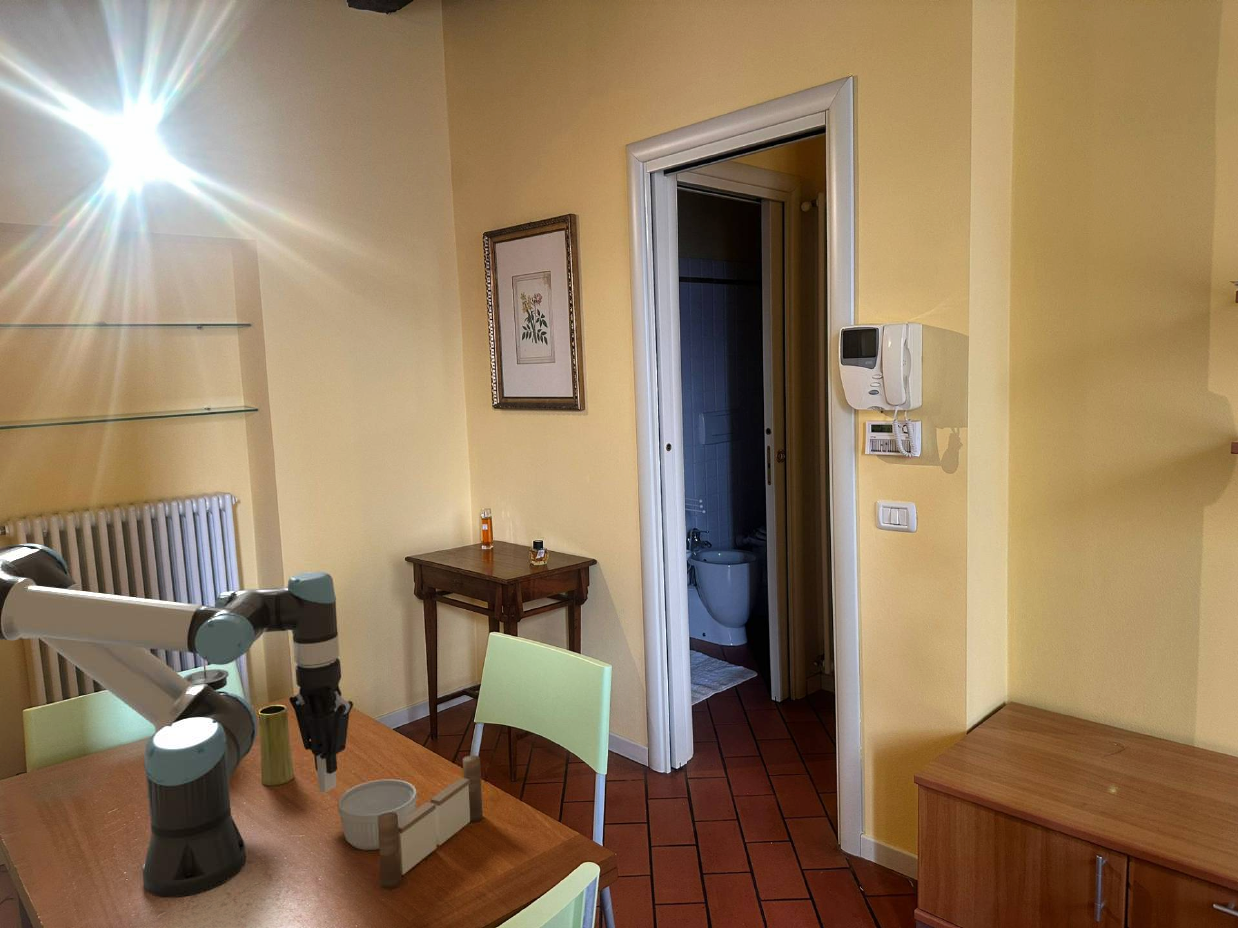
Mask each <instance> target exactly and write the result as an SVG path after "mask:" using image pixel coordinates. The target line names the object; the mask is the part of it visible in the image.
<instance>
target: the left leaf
mask: <svg viewBox="0 0 1238 928" xmlns="http://www.w3.org/2000/svg"><path fill="white" fill-rule="evenodd" d="M435 809H436V804H434V803H431V802H428V801H426V802H425V803H423V804H422V805H420V806H419V807H418V808H415V811H413V812H412V813H410V814H409V815H408V816H406V817H405V818H403V819H402V820H401V821H399V822H398V831H399V849H400V866H401V876H403V875H404V874H406V873H407V872H408V871H410V870H411V869H412V868H413V867H414V866H416V865H417V864H418V863H420V862H421V861H422V860H423V859H425V858H426V857H428V855H430V854H431V853H432V852H434V851H435V850H436V849H437V844H436V830H435V811H434V810H435Z"/></svg>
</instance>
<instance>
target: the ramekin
mask: <svg viewBox="0 0 1238 928" xmlns="http://www.w3.org/2000/svg"><path fill="white" fill-rule="evenodd" d="M417 801H418V792H417V789H416V787H415V785H413V784H412V783H410V782H408V781H405V780H399V779H392V778H389V779H378V780H377V779H376V780H371V781H367V782H363V783H360V784H358V785H356V786H353V787H351V788H349V789H348V790H346V791H345V792H344V793H342V795H341V796H340V797H339V800H338V802H337V811H338V814H339V815H340V820H341V821H340V822H341V826H342V827H341V828H342V831H343V835H344V838H345V840H346V841H347V843H349V844H350V845H351V846H352V847H353V848H355V849H359V850H366V851H375V850H380V849H379V833H378V816H380V815H381V814H383V813H387V812H394V813H396V814H397V815H398V822H399V821H401V820H402V819H403V818H405V817H406V816H408V815H409V814H410V813H412V812H413V811H415V810H416V805H417V804H416V803H417Z"/></svg>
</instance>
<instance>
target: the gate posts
mask: <svg viewBox="0 0 1238 928" xmlns="http://www.w3.org/2000/svg"><path fill="white" fill-rule="evenodd" d="M462 769H463V770H462V771H463V773H462V774H463V778H466V779H470V784H469V785H468V786H469V807H470V822H469V823H478V822H480V821H481V820H483V818H484V816H483V813H484V812H483V795H482V792H483V791H482V779H481V778H482V775H481V774H482V771H481V757H480V756H478V755H476V754H475V755H474V754H473V755H471V754H470V755H468V756H464V757H463V758H462ZM378 833H379V849H378V850H379V863H380V879H381V880H380V881H381V882H380V883H381V888H383V889H385V890H392V889H396V888H398V887H399V886H401V884H402V874H401V866H400V849H399V831H398V815H397V814H396V813H394V812H387V813H383V814H381V815H380V816H378Z"/></svg>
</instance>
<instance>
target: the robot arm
mask: <svg viewBox="0 0 1238 928" xmlns="http://www.w3.org/2000/svg"><path fill="white" fill-rule="evenodd" d="M68 569H69V567H68V565H67V563H66V561H65V560H64V558H63V557H62V556H61V555H60V554H58V552H56V551H55V550H54V549H52V548H50V547H47V546H45V545H42V544H39V543H38V544H37V543H21V544H13V545H8V546H7V545H6V546H5V547H2V548H0V640H6V641H16V640H19V639H20V638H21V639H35V638H37V639H40V640H41V641H42V642H43V643H45V644H46V645H48V646H49V647H50V648H52V649H53V650H54V651H56V652H57V653H58V654H60V655H61V656H62V657H64V659H66V660H67V661H69V662H70V663H71V664H73V665H74V666H75V667H77V668H78V669H79V670H80V671H82V672H83V673H85V674H86V675H87V676H88V677H90V678H91V679H92V680H94V681H95V682H97V683H98V684H99V685H100V686H101V687H103V688H105V690H107V691H108V692H110V693H111V694H112V695H113V696H115V697H116V698H118V699H119V700H120V701H121V702H122V703H124V704H125V705H127V706H128V707H129V708H131V710H133V711H135V712H136V713H137V714H139V716H141V717H143V719H145V720H146V721H148V722H149V723H151V724H152V725H153V727H154V731H155V732H154V734H152V736H151V737H150V738H149V739H148V741H147V742H146V745H145V749H144V763H143V769H144V772H145V779H146V788H147V797H148V799H147V800H148V810H149V819H150V828H151V829H150V830H151V831H150V832H151V835H150V839H149V843H148V847H147V852H146V856H145V860H144V863H143V865H142V882H143V887H144V889H145V890H146V891H147V892H148V893H150V894H153V895H156V896H159V897H170V898H171V897H182V896H183V897H185V896H189V895H194V894H198V893H202V892H205V891H207V890H211V889H213V888H215V887H218V886H220V885H222V884H224V883H225V882H227V881H229V880H231V878H234V876H236V875H237V874H238V873H239V872H240V871H241V870H242V869H243V867H244V866H245V864H246V861H247V851H246V850H247V849H246V843H245V840H244V839H243V836H242V835H241V832H240V831H239V828H238V826H237V824H236V823H235V820H234V819H233V816H232V811H231V809H232V808H231V797H230V786H229V785H230V784H229V783H230V781H229V780H230V778H231V777H232V775H233V774H234V772H235V771H236V769H237V768H238V766H239V765H240V764H241V762H242V761H243V759H244V758H245V757H246V756H247V755H248V754H249V753H250V752H251V749H252V748H253V745H254V742H255V740H256V737H257V735H258V728H259V724H258V718H257V717H258V716H257V714H256V712H255V709H254V708H253V707H252V705H251V703H250V702H248V701H247V700H246V699H245V698H243V697H242V696H240V695H237V694H234V693H230V692H228V694H223V693H222V694H219V693H218V692H216V691H217V690H214V689H213V688H211V687H210V686H209V685H207V684H200V685H192V684H191V683H189V682H188V681H187V680H185V679H184V677H183V676H181V675H180V674H179V673H177V672H176V671H175V670H174V669H172V668H171V667H170V666H169V665H167V664H166V663H165V662H163V661H162V660H161V659H160V658H158V657H157V656H156V655H154V654H153V653H152V652H151V651H149V650H148V649H151V650H152V649H154V650H163V651H169V652H170V651H173V652H180V653H188V654H189V653H191V654H196V653H197V654H198V655H199V657H200V658H201V659H202V660H203V659H204V660H205V662H208V663H209V664H212V665H216V666H219V665H220V666H221V665H222V666H223V665H224V666H225V665H228V664H231V663H233V662H235V661H236V660H238V659H239V658H241V657H242V656H243V655H245V654H246V653H247V652H248V651H249V650H250V649H251V648H252V646H253V645H254V643H255V642H256V641H257V640H258V639H259V638H260V637H261V636H262V635H263V634H264V633H275V632H286V631H287V632H288V631H291V634H292V642H293V643H292V644H293V657H294V658H293V659H294V660H293V661H294V663H296V665H295V667H294V669H295V679H296V680H295V681H296V685H297V686H298V688H299V689H298V691H299V692H298V693H296V694H295V695H293V696H290V697H289V702H290V704H291V706H292V708H293V710H294V714H295V717H296V721H297V724H298V728H299V732H300V736H301V740H302V743H303V748H304V749H305V750H306V751H308V750H309V751H311V753H312V755H313V756H314V757H313V758H314V765H315V766H314V767H315V771H317V782H318V791H319V792H321V793H327V792H329V791H331V790H332V789H334V788H336V787H337V775H336V772H337V770H338V763H337V762H338V761H337V754H339V753H341V752H343V751H345V749H346V744H347V734H348V728H349V719H350V713H351V711H352V709H353V707H354V702H353V701H352V700H348V701H346V700H345V699H344V697H342V691H341V689H340V685H339V684H340V681H341V679H342V669H341V667H342V666H341V660H340V658H339V657H340V643H339V630H338V617H337V596H336V593H335V587H334V581H333V580H334V579H333V577H332V576H331V575H330V573H327V572H324V571H308V572H301V573H297V574H294V575H292V576H290V577H289V578H288V580H287V581H288V582H287V586H285V587H273V588H272V587H271V588H269V587H268V588H254V589H243V588H240V589H236V590H229V591H223V592H221V593H220V594H219V595H218V596H217V599H216V602H215V603H214V606H210V605H201V604H193V603H185V602H176V601H167V600H161V599H152V598H141V597H132V596H127V595H119V594H118V595H117V594H111V593H110V594H109V593H108V594H107V593H100V592H91V591H84V590H81V587H80V584H78V583H77V582H76V581H75V580H73V579H72V578H71V576H70V574H69V571H68Z"/></svg>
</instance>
